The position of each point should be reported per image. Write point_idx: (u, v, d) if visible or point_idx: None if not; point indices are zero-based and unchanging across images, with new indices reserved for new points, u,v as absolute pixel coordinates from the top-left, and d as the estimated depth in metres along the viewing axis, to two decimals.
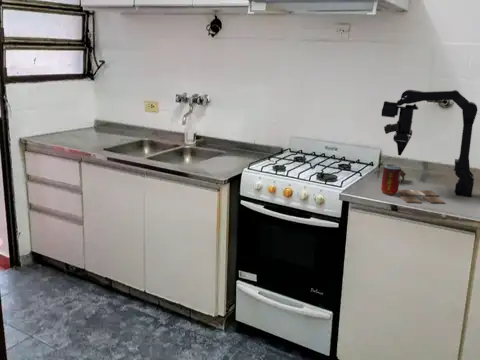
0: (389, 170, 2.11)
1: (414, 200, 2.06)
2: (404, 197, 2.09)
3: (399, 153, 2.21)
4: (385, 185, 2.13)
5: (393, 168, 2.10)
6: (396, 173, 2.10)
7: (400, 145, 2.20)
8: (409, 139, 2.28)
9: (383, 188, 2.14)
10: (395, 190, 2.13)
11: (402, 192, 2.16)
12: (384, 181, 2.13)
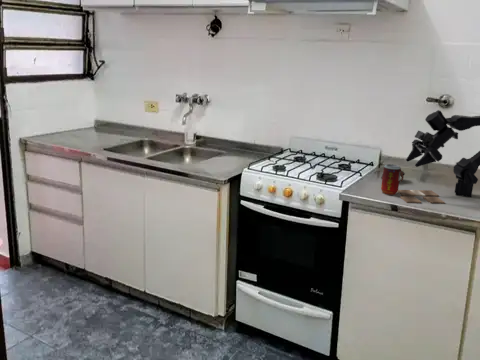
0: (389, 170, 2.11)
1: (414, 200, 2.06)
2: (404, 197, 2.09)
3: (417, 164, 2.08)
4: (385, 185, 2.13)
5: (393, 168, 2.10)
6: (396, 173, 2.10)
7: (425, 158, 2.07)
8: (420, 155, 2.18)
9: (383, 188, 2.14)
10: (395, 190, 2.13)
11: (402, 192, 2.16)
12: (384, 181, 2.13)
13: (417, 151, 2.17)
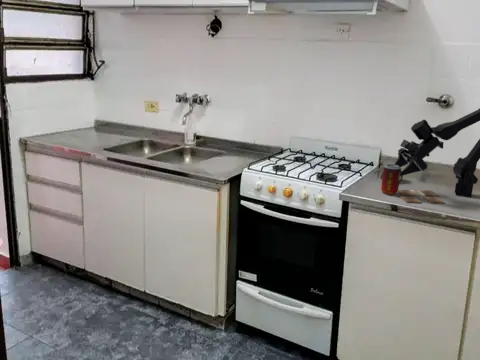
0: (389, 170, 2.11)
1: (414, 200, 2.06)
2: (404, 197, 2.09)
3: (402, 173, 2.09)
4: (385, 185, 2.13)
5: (393, 168, 2.10)
6: (396, 173, 2.10)
7: (410, 167, 2.08)
8: None
9: (383, 188, 2.14)
10: (395, 190, 2.13)
11: (402, 192, 2.16)
12: (384, 181, 2.13)
13: (403, 160, 2.18)
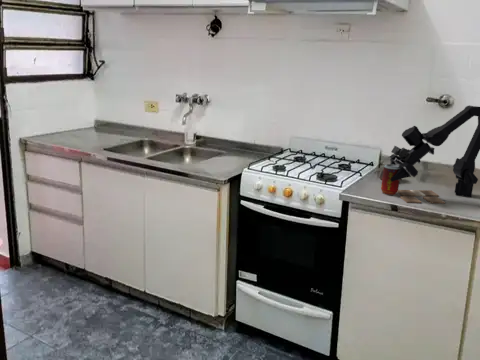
0: (389, 170, 2.11)
1: (414, 200, 2.06)
2: (404, 197, 2.09)
3: (393, 179, 2.10)
4: (385, 185, 2.13)
5: (393, 168, 2.10)
6: None
7: (400, 173, 2.09)
8: None
9: (383, 188, 2.14)
10: (395, 190, 2.13)
11: (402, 192, 2.16)
12: (384, 181, 2.13)
13: None
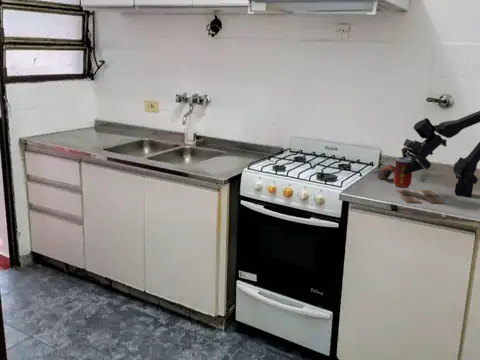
0: (401, 163, 2.10)
1: (414, 200, 2.06)
2: (404, 197, 2.09)
3: (405, 172, 2.10)
4: (398, 178, 2.13)
5: (405, 161, 2.10)
6: None
7: (413, 166, 2.09)
8: None
9: (396, 181, 2.14)
10: (408, 183, 2.12)
11: (402, 192, 2.16)
12: (397, 174, 2.13)
13: None
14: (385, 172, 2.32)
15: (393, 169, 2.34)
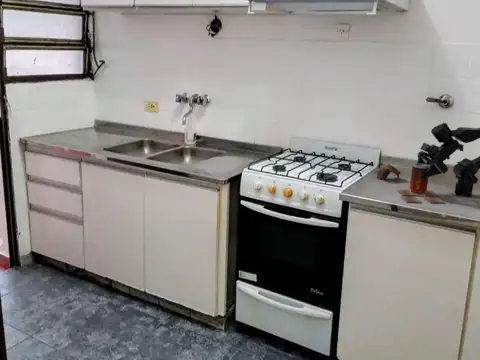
0: (418, 169, 2.12)
1: (414, 200, 2.06)
2: (404, 197, 2.09)
3: (423, 176, 2.10)
4: (414, 184, 2.14)
5: (422, 167, 2.11)
6: None
7: (431, 170, 2.09)
8: None
9: (412, 187, 2.15)
10: (424, 189, 2.14)
11: (402, 192, 2.16)
12: (413, 180, 2.14)
13: (423, 163, 2.19)
14: (384, 172, 2.33)
15: (392, 169, 2.35)
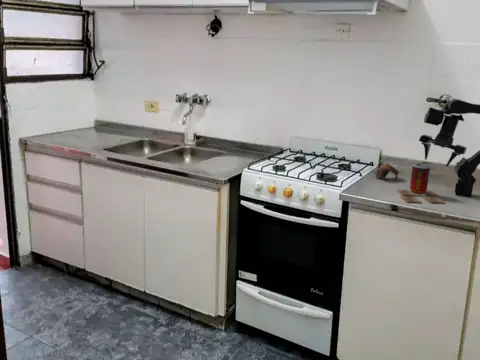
0: (418, 169, 2.12)
1: (414, 200, 2.06)
2: (404, 197, 2.09)
3: None
4: (414, 184, 2.14)
5: (422, 167, 2.11)
6: (425, 172, 2.12)
7: None
8: None
9: (412, 187, 2.15)
10: (424, 189, 2.14)
11: (402, 192, 2.16)
12: (413, 180, 2.14)
13: (429, 146, 2.19)
14: (382, 171, 2.33)
15: (390, 168, 2.35)
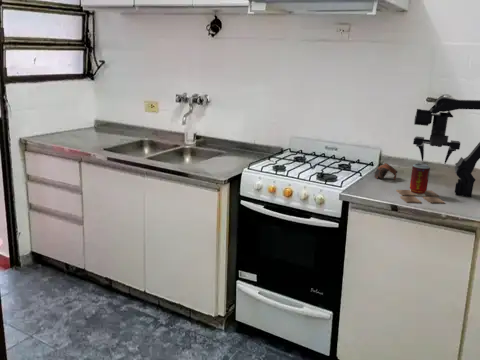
0: (418, 169, 2.12)
1: (414, 200, 2.06)
2: (404, 197, 2.09)
3: (446, 161, 2.17)
4: (414, 184, 2.14)
5: (422, 167, 2.11)
6: (425, 172, 2.12)
7: None
8: None
9: (412, 187, 2.15)
10: (424, 189, 2.14)
11: (402, 192, 2.16)
12: (413, 180, 2.14)
13: (423, 147, 2.20)
14: (381, 171, 2.34)
15: (389, 168, 2.36)
